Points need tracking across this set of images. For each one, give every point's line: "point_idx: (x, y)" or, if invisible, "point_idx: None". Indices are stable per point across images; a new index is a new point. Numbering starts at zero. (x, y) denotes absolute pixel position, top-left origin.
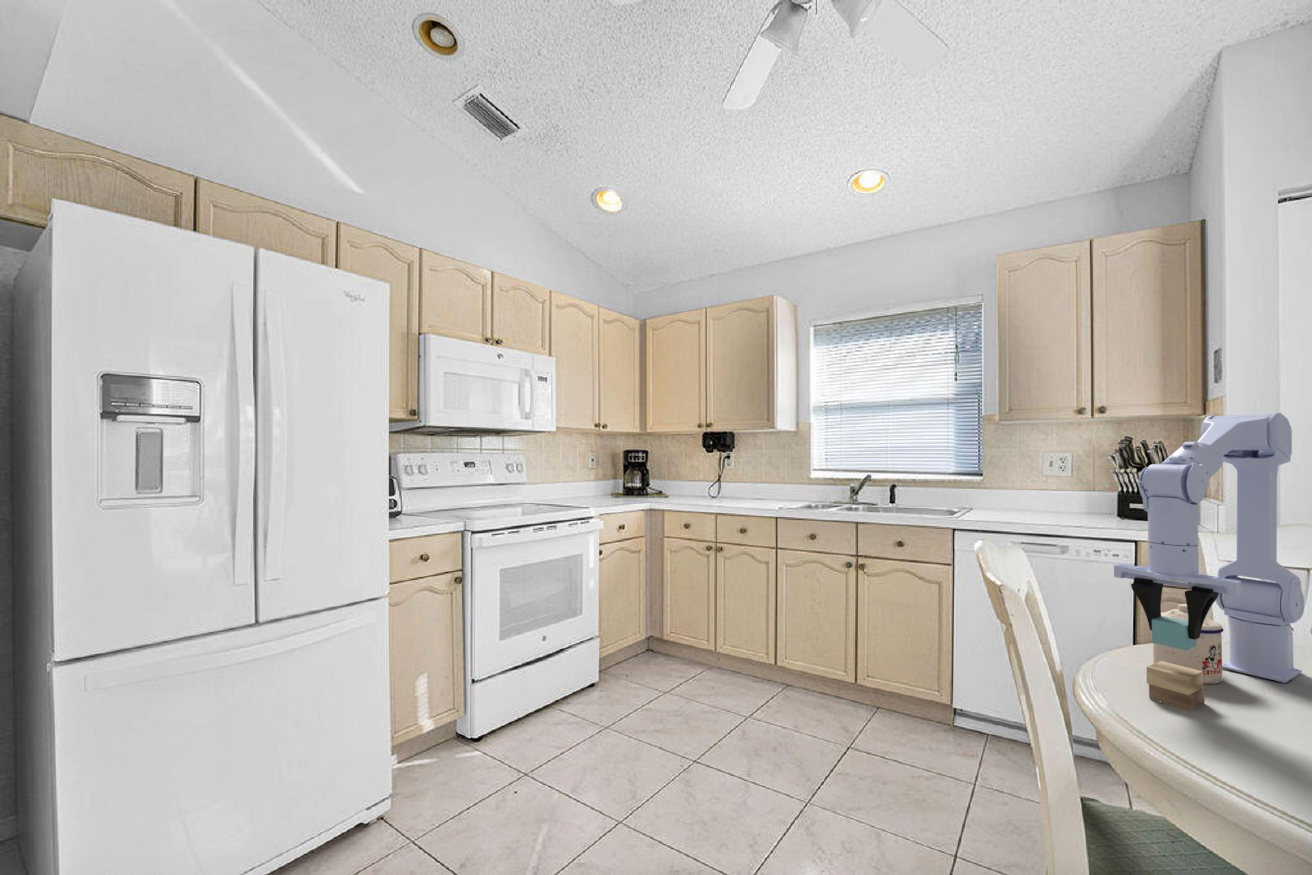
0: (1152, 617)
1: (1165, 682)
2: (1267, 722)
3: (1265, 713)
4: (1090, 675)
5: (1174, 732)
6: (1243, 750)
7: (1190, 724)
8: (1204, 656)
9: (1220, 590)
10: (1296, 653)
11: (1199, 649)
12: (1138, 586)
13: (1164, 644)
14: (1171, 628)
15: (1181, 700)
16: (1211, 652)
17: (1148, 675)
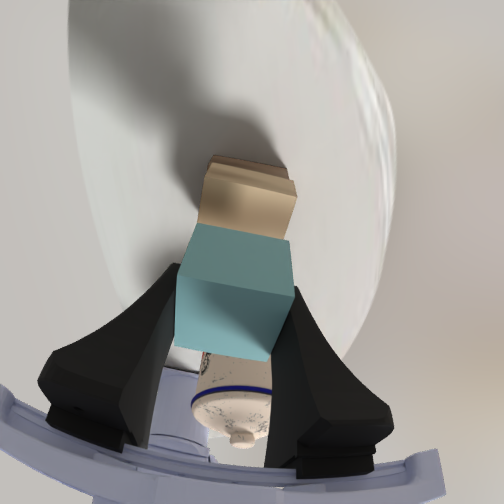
0: (293, 314)
1: (256, 176)
2: (121, 197)
3: (133, 239)
4: (385, 234)
5: (223, 3)
6: (125, 19)
7: (205, 70)
8: None
9: (30, 415)
10: None
11: (221, 359)
12: (368, 419)
13: (254, 234)
14: (228, 270)
15: (229, 162)
16: (206, 362)
17: (291, 187)
